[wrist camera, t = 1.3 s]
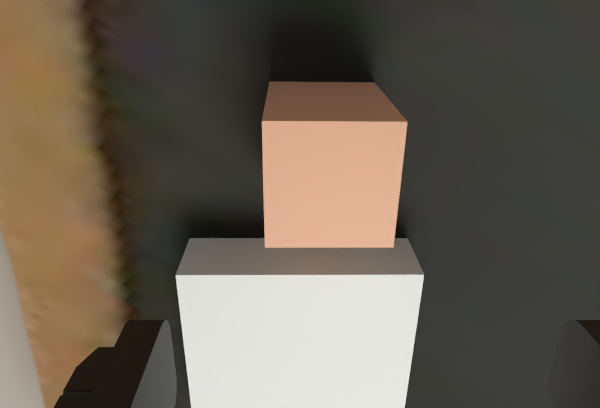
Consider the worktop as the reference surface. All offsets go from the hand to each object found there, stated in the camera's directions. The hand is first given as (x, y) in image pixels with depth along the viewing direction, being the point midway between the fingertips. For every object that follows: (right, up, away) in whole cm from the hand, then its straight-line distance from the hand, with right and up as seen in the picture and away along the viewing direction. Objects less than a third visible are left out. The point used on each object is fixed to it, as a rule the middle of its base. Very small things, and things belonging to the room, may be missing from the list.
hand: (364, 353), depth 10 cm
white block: (-1, -4, +19) cm, 20 cm away
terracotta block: (0, +7, +14) cm, 15 cm away
